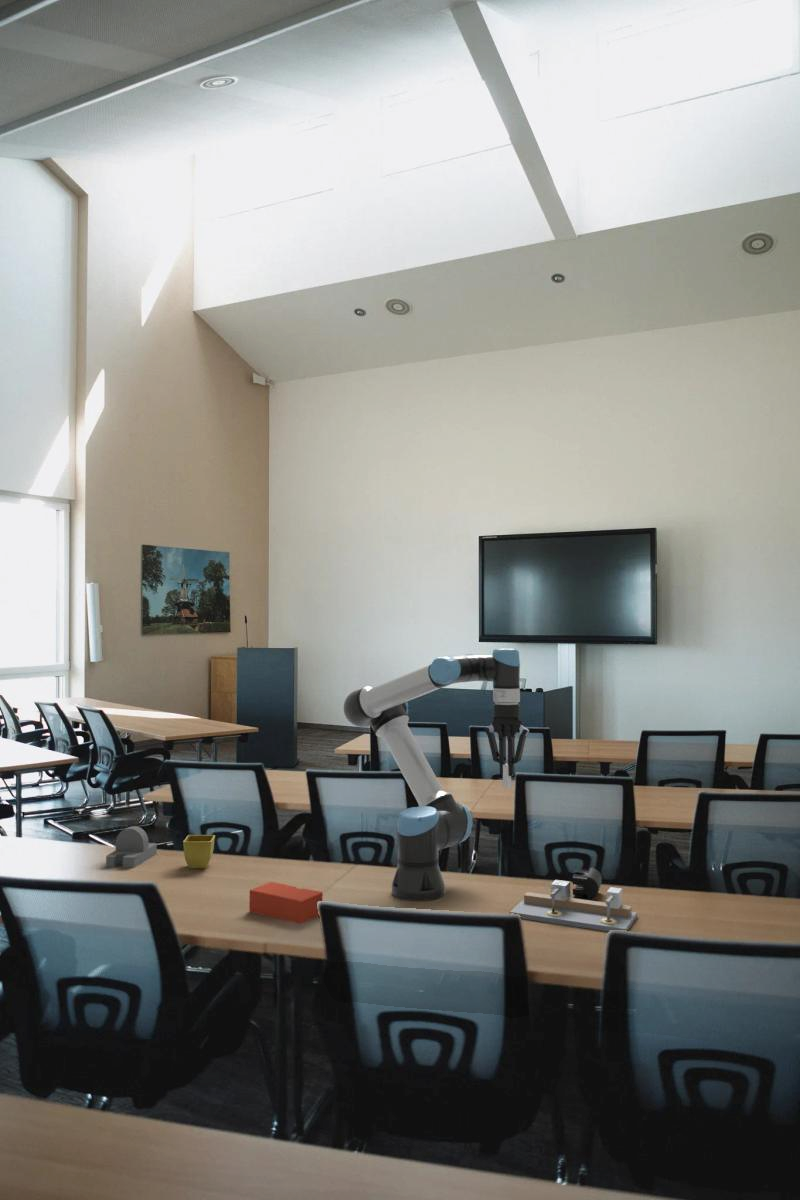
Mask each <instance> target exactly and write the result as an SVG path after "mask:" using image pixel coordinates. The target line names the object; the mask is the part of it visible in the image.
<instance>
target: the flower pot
mask: <svg viewBox="0 0 800 1200" xmlns="http://www.w3.org/2000/svg"><path fill="white" fill-rule="evenodd" d="M215 839H216V835H214V834H195V835H194V834H188V835H187V836H186V837H185V839H183V841H182V842H183V843H182V844H183V854H184V859H185V862H186V864H187V867H188V868H189V869H207V867H208V865H209V863H210V861H211V860H212V857H213V852H214V847H215V841H216V840H215Z"/></svg>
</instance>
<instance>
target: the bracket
mask: <svg viewBox="0 0 800 1200" xmlns="http://www.w3.org/2000/svg"><path fill="white" fill-rule="evenodd" d="M157 845H158V844H157V843H156V842H149V837H148V834H147V832H146V831H145V830H144V829H143V828H142V827H140V826H137V825H134V826H133V825H132V826H129V827H127V828H125V829H123V830H122V831H120V832H119V833H118V835H117V836H116V839H115V850H114V851H112V852H110V853H109V854H106V857H105V862H106V863H105V866H106V867H107V868H116V867H117V866H119V865H120V866H121V865H122V868H124V869H135V868H136V867H138V866H139V865H141V864H142V863H144V862H146V861H147V860H149V859H151V858H153V857H154V856H156V855H157V852H158V851H157V850H158V849H157V848H158V847H157Z"/></svg>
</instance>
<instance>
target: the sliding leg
mask: <svg viewBox="0 0 800 1200" xmlns="http://www.w3.org/2000/svg"><path fill="white" fill-rule="evenodd" d="M549 895H550V897H551V899H552V912H555V900H560V901H567V900H568V899H569V898H571V881H570V880H569V881H568V880H562V879H561V880H560V879H555V880H553V882H552V883H550V894H549Z"/></svg>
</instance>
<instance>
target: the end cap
mask: <svg viewBox="0 0 800 1200" xmlns="http://www.w3.org/2000/svg"><path fill="white" fill-rule="evenodd" d="M602 880H603V878H602V874H601V873H600V871H598V869H596V868H595V867H590V868H589V870H588V869H578V868H577V869H575V871H574V874H573V876H572V885H575V887H573V888H572V895H573V896H572V898H575V899H583V900H590V901H593V899H595V898H596V897H597V896H598V894H599V891H600V888H601V886H602Z"/></svg>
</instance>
